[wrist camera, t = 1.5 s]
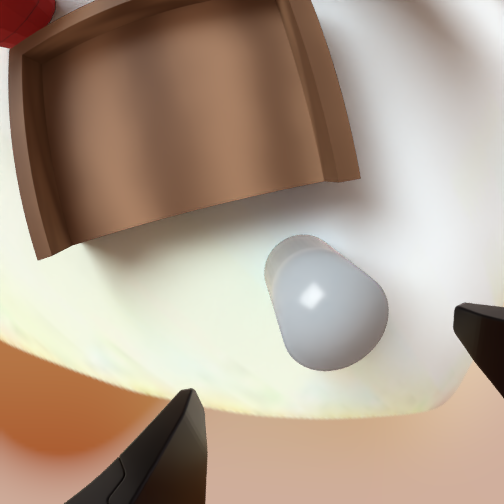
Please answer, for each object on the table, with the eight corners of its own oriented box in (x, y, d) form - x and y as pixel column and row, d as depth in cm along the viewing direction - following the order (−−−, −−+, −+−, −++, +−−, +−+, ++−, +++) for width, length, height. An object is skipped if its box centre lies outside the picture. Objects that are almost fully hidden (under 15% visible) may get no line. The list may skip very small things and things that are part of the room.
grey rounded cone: (331, 227, 20) (385, 258, 12) (340, 295, 22) (388, 352, 14) (256, 244, 20) (271, 287, 12) (272, 313, 21) (292, 382, 14)
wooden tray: (279, -1, 16) (291, -43, 10) (327, 177, 19) (360, 178, 14) (49, 69, 16) (9, 49, 10) (78, 240, 19) (37, 260, 14)
